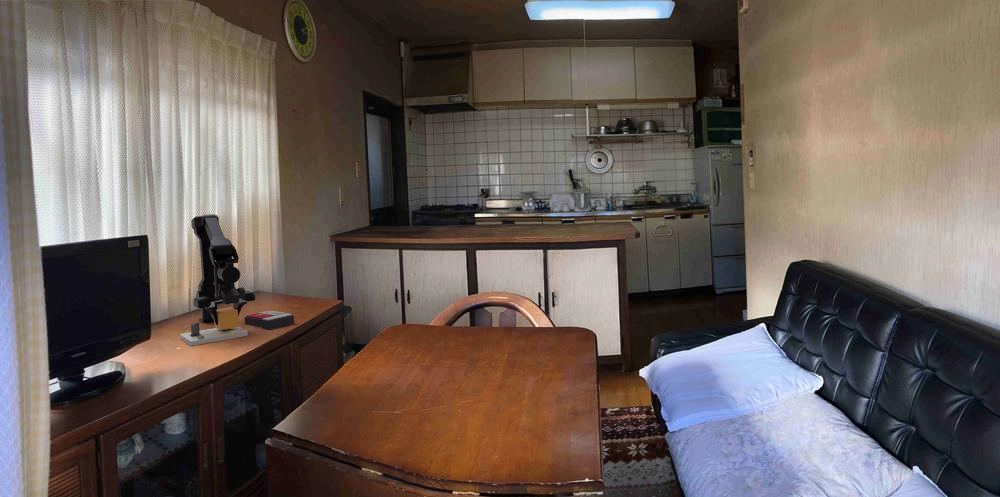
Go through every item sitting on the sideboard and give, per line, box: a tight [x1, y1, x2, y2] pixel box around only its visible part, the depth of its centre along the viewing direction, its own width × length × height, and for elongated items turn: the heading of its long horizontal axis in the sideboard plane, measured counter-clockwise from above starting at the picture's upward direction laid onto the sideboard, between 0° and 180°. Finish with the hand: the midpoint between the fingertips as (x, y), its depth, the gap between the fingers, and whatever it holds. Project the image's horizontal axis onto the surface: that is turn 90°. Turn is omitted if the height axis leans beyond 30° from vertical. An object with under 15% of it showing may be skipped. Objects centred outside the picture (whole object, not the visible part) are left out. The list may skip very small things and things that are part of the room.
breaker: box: [190, 322, 201, 336], centre depth 193 cm, size 3×3×4 cm
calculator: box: [244, 310, 295, 331], centre depth 214 cm, size 11×4×15 cm
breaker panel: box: [179, 326, 249, 347], centre depth 196 cm, size 12×18×2 cm, turn 134°
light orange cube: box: [213, 306, 240, 330], centre depth 200 cm, size 6×6×6 cm
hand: (226, 323), depth 200 cm, fingers closed on light orange cube, 6 cm apart
